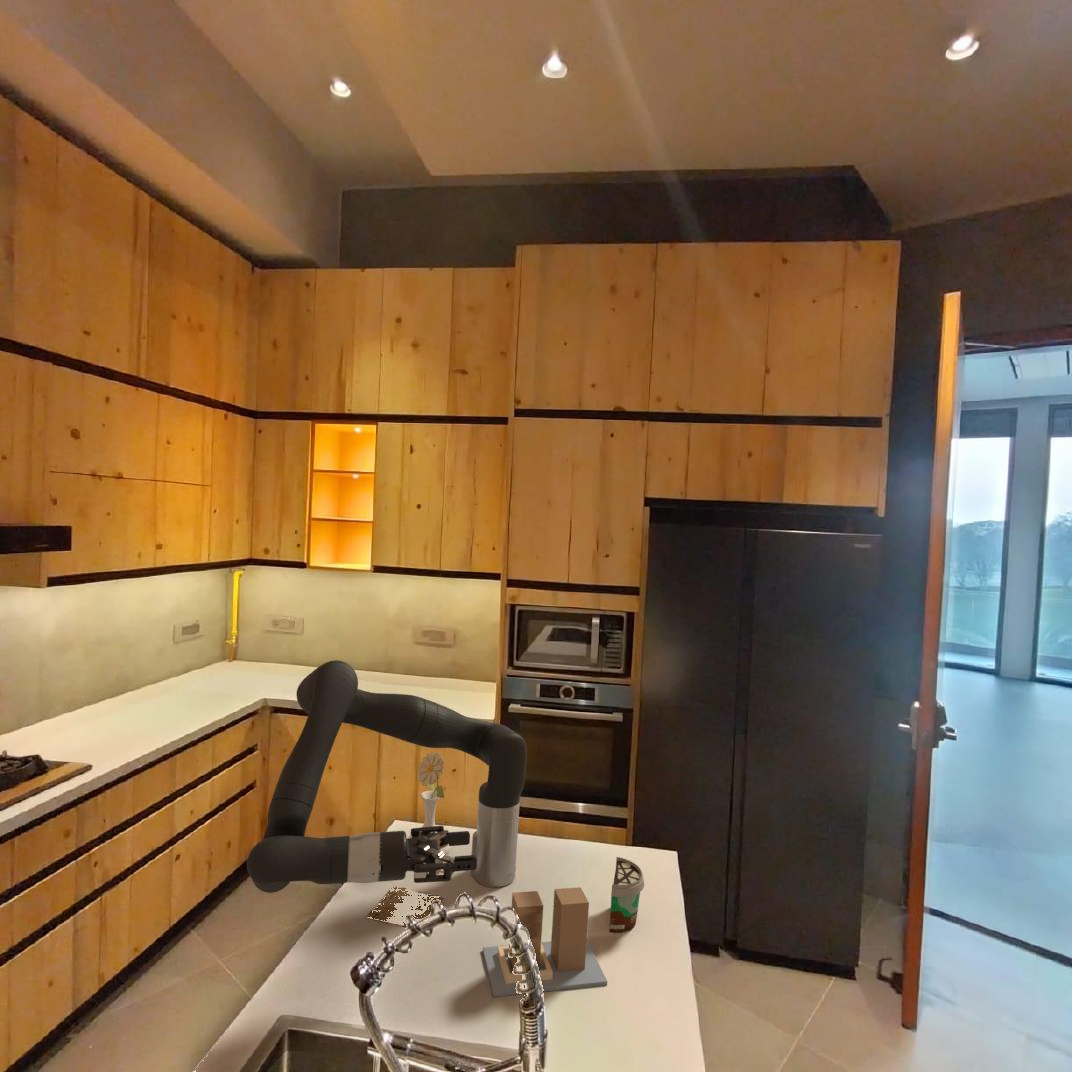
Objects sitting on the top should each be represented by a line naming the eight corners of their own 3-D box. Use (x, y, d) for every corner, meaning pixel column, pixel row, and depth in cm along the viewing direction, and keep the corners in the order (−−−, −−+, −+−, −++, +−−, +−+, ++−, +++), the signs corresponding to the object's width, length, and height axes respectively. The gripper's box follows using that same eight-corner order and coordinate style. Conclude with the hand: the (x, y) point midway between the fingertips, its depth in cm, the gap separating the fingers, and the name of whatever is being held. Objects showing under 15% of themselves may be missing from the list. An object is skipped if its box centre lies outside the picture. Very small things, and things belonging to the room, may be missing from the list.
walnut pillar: (513, 975, 114) (517, 907, 114) (508, 958, 118) (512, 892, 118) (539, 973, 115) (543, 905, 115) (533, 956, 119) (537, 890, 119)
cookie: (422, 933, 126) (422, 927, 126) (364, 920, 129) (365, 915, 129) (445, 899, 137) (445, 895, 137) (392, 888, 140) (392, 884, 140)
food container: (640, 942, 126) (643, 891, 126) (608, 936, 127) (611, 885, 127) (643, 907, 138) (646, 860, 138) (613, 902, 139) (616, 855, 139)
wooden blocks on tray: (493, 996, 109) (498, 922, 109) (482, 950, 121) (486, 883, 121) (607, 984, 114) (611, 912, 114) (586, 941, 125) (590, 876, 125)
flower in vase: (398, 844, 158) (404, 742, 158) (444, 838, 163) (450, 738, 163) (411, 872, 146) (417, 760, 146) (459, 864, 151) (466, 756, 151)
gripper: (376, 857, 117) (466, 850, 121) (375, 903, 103) (478, 894, 107) (378, 815, 117) (468, 810, 121) (377, 856, 103) (480, 848, 107)
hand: (473, 849), depth 114 cm, fingers open, 8 cm apart
